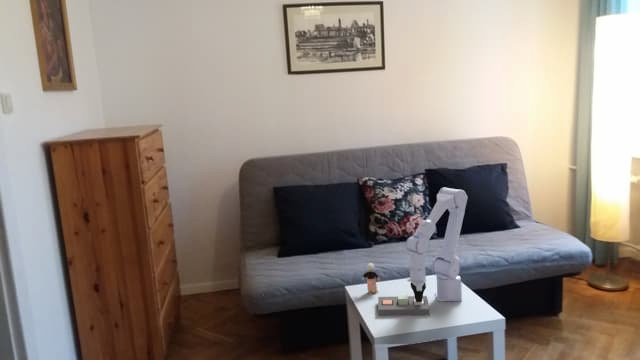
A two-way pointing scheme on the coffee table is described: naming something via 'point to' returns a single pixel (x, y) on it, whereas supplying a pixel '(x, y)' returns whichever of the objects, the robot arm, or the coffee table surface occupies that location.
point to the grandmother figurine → (371, 279)
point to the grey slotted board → (402, 307)
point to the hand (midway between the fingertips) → (418, 301)
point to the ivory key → (418, 302)
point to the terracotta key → (387, 302)
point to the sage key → (402, 300)
